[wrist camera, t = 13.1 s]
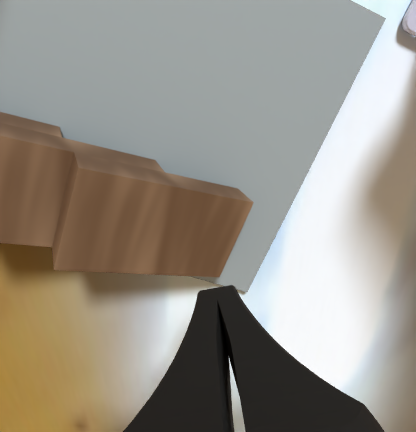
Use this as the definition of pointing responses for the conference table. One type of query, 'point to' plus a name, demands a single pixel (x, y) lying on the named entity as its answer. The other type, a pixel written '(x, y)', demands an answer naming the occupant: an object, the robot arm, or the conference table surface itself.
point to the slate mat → (193, 89)
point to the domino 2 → (145, 221)
